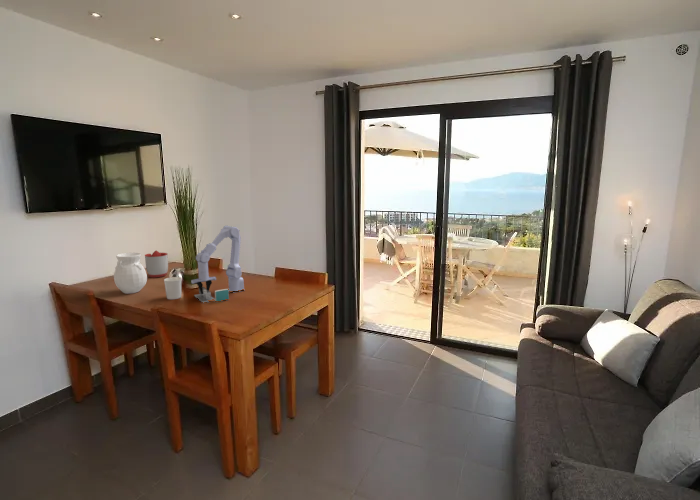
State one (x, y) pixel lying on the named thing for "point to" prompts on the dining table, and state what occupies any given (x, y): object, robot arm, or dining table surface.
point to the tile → (221, 294)
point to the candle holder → (173, 287)
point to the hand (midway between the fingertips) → (204, 292)
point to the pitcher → (129, 273)
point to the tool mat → (203, 298)
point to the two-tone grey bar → (205, 293)
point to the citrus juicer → (156, 264)
